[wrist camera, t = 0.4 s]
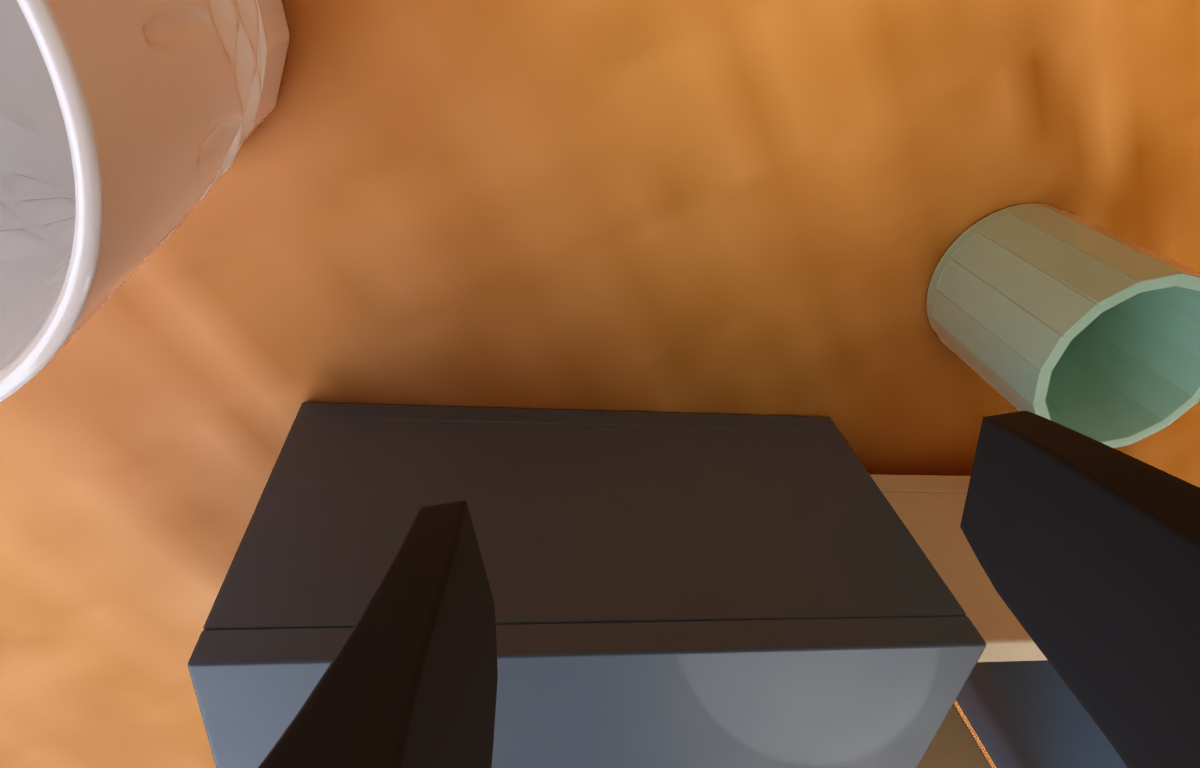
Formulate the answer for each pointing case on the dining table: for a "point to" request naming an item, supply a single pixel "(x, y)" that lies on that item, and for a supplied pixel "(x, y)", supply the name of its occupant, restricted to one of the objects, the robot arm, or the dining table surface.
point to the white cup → (113, 145)
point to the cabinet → (606, 586)
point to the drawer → (993, 654)
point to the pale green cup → (1071, 322)
